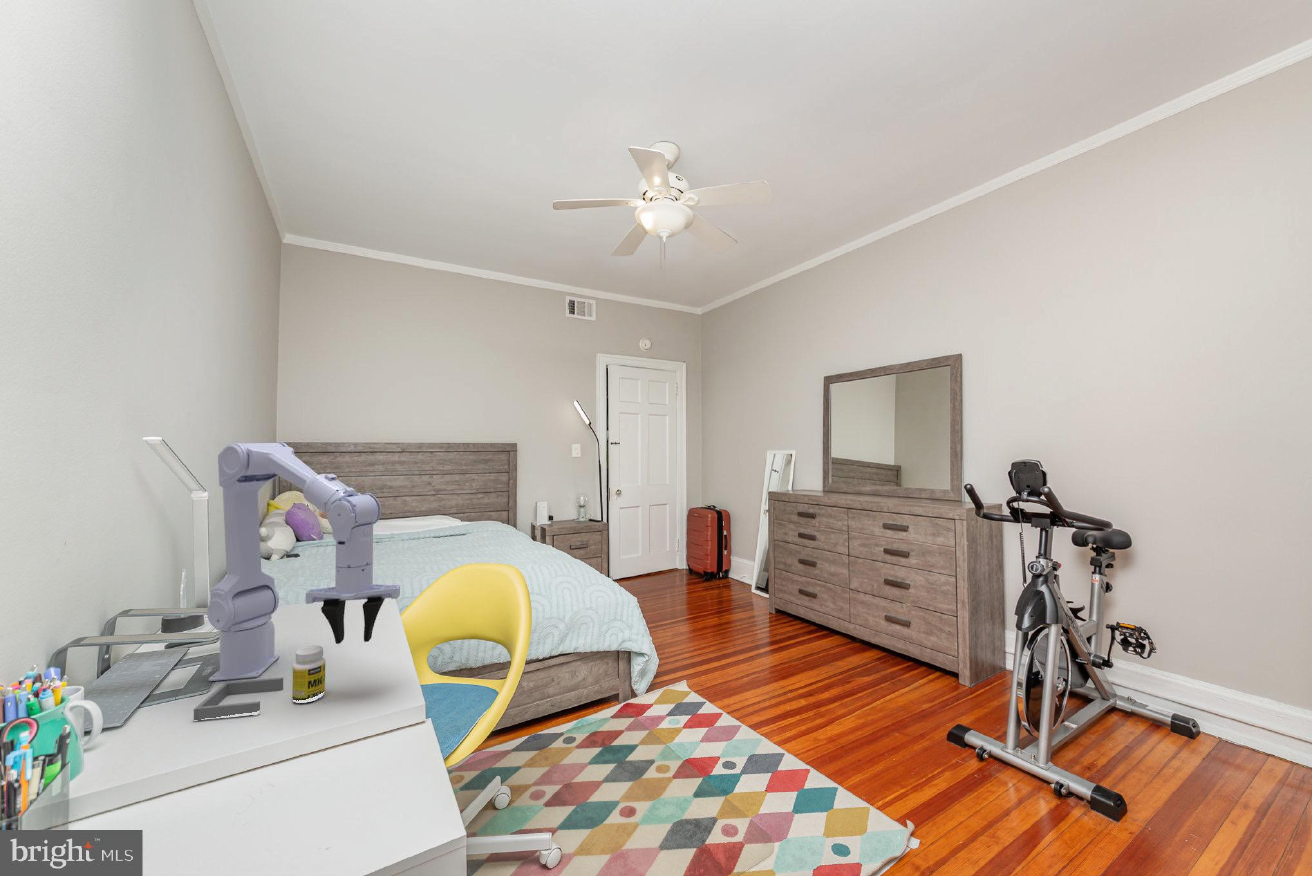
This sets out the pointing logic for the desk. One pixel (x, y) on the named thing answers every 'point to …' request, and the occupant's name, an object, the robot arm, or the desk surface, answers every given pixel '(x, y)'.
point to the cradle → (239, 687)
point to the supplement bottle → (308, 673)
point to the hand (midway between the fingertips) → (353, 640)
